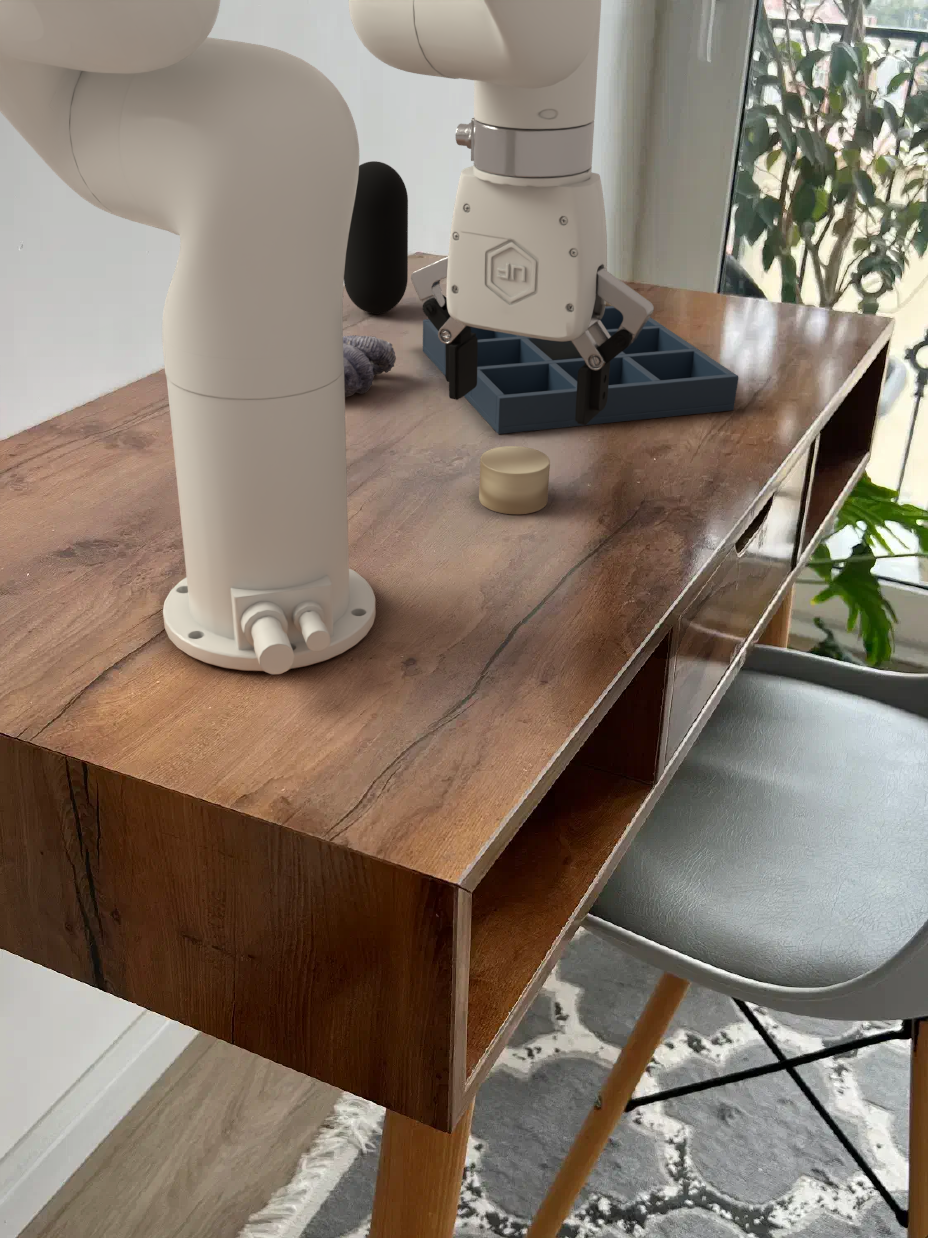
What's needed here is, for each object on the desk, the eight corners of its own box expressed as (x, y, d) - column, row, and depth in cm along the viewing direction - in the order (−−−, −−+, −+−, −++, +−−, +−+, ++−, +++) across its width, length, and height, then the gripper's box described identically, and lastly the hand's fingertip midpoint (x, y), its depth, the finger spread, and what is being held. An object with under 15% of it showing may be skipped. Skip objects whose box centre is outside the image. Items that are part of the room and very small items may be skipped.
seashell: (372, 385, 114) (320, 424, 106) (339, 335, 112) (284, 371, 104) (414, 357, 110) (363, 396, 103) (380, 306, 109) (326, 341, 101)
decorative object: (332, 315, 127) (328, 163, 120) (364, 299, 133) (362, 152, 125) (388, 325, 125) (387, 170, 117) (418, 309, 130) (419, 159, 123)
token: (557, 510, 89) (560, 469, 87) (492, 518, 87) (493, 476, 86) (532, 482, 93) (535, 442, 91) (469, 489, 91) (471, 449, 90)
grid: (733, 410, 107) (738, 375, 105) (498, 434, 101) (499, 398, 99) (628, 334, 125) (631, 304, 123) (422, 351, 118) (422, 319, 117)
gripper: (384, 147, 78) (391, 401, 87) (642, 176, 72) (620, 448, 81) (439, 127, 84) (440, 368, 93) (683, 152, 77) (658, 409, 86)
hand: (524, 405), depth 87 cm, fingers open, 9 cm apart
